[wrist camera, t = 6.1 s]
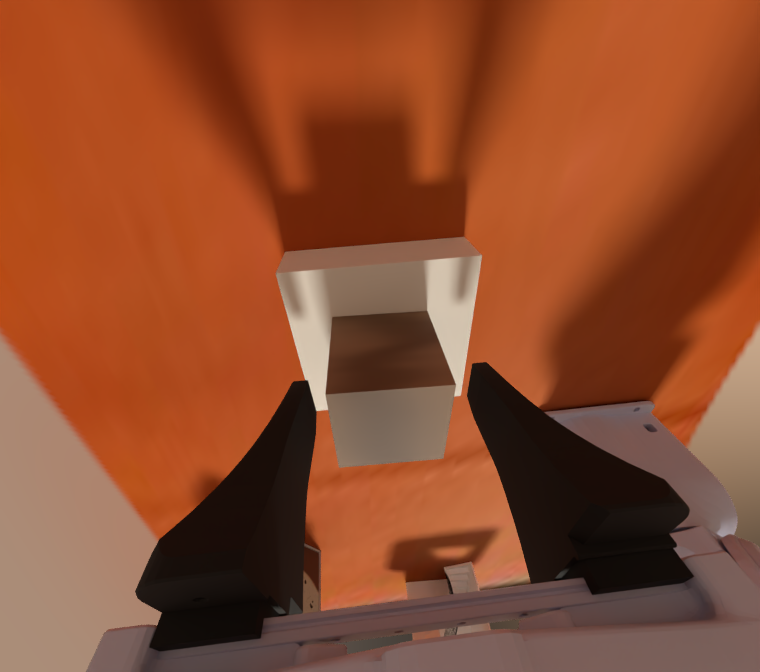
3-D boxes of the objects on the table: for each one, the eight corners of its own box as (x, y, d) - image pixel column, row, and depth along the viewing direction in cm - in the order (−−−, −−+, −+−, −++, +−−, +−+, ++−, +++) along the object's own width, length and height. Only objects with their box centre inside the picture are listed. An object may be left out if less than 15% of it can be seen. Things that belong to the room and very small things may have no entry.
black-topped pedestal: (558, 524, 40) (636, 676, 29) (497, 589, 55) (533, 703, 44) (343, 538, 37) (342, 715, 26) (341, 603, 52) (340, 730, 41)
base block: (461, 233, 16) (481, 255, 13) (447, 363, 21) (460, 395, 19) (286, 248, 15) (275, 273, 13) (317, 376, 21) (314, 411, 18)
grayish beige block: (427, 310, 15) (456, 384, 11) (422, 379, 17) (443, 458, 13) (332, 316, 15) (325, 394, 11) (341, 385, 17) (339, 467, 13)
